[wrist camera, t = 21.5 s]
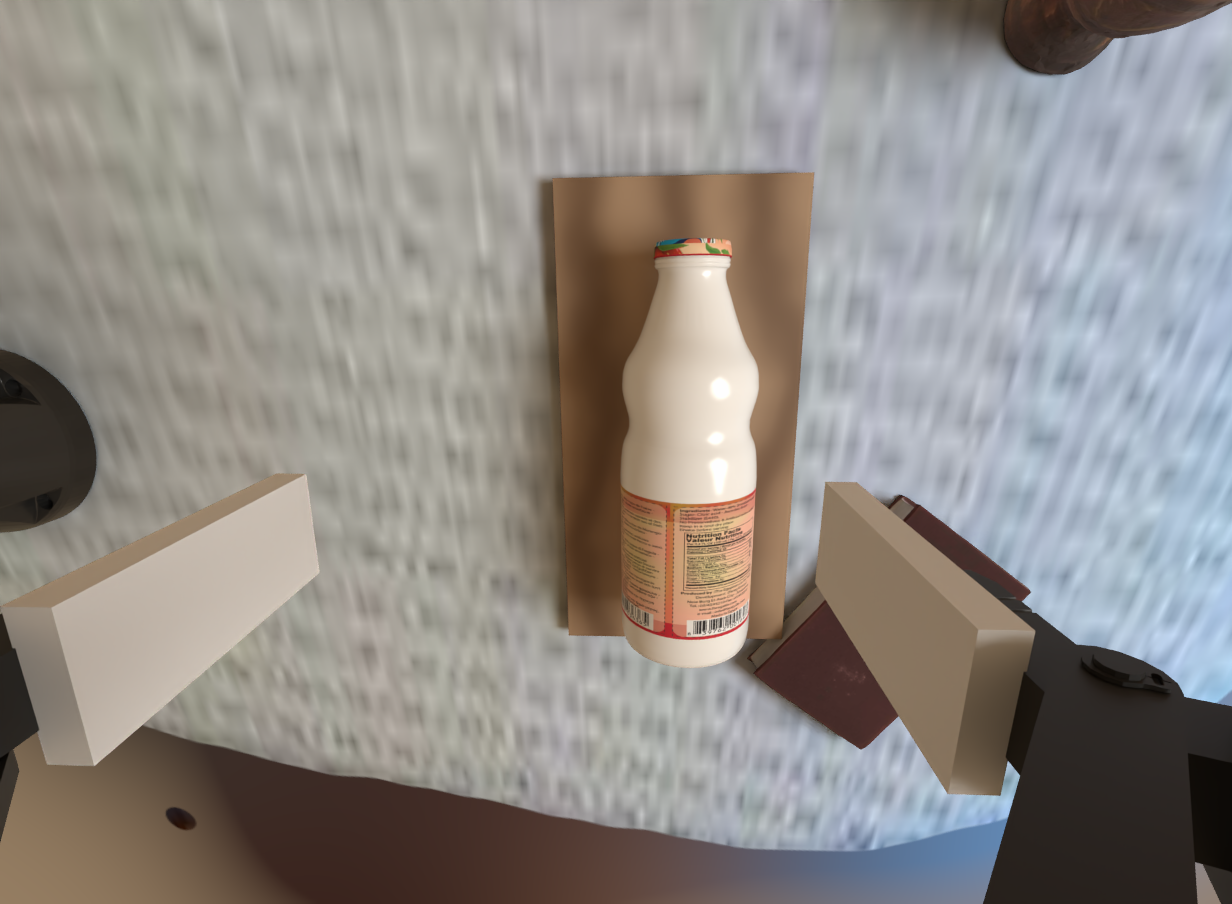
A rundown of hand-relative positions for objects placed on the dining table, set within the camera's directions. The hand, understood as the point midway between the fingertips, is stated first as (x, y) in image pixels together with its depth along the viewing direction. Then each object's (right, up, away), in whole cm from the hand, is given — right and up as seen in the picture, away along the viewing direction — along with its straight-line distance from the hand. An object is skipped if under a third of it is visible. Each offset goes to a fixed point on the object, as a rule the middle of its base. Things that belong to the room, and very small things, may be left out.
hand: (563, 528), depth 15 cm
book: (+23, -12, +35) cm, 44 cm away
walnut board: (+6, +4, +31) cm, 32 cm away
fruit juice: (+6, -12, +29) cm, 32 cm away
